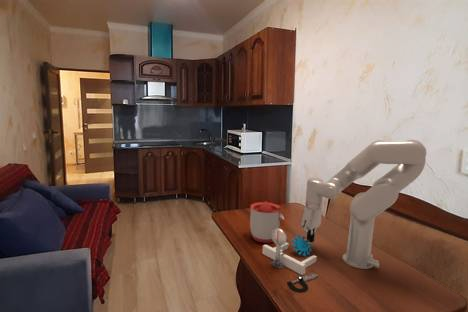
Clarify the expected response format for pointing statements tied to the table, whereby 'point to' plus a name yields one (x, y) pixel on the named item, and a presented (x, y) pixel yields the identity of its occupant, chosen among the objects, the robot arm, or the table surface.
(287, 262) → the white angled bar
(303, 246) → the gear
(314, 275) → the micrometer
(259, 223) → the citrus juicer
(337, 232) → the table surface
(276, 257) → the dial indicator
